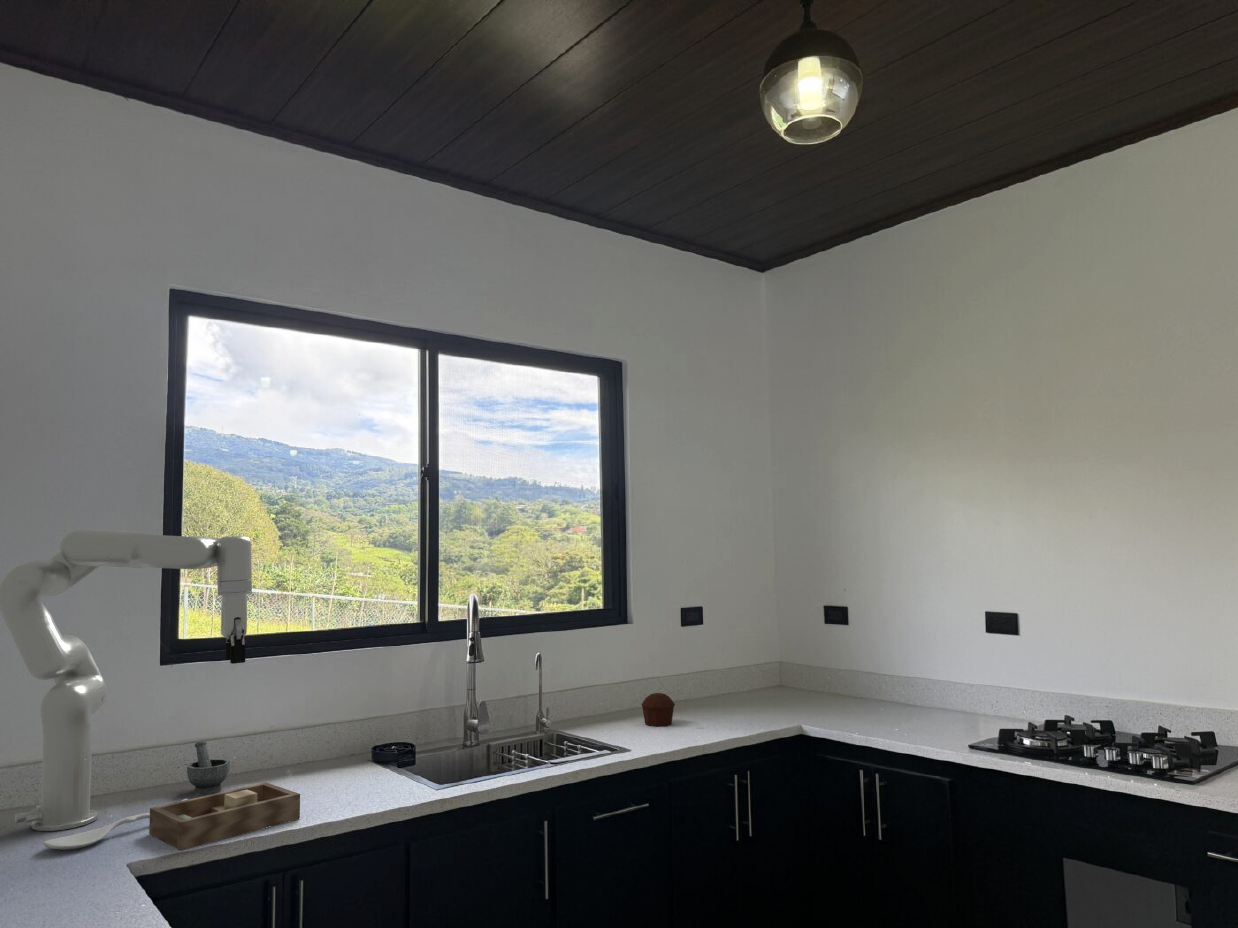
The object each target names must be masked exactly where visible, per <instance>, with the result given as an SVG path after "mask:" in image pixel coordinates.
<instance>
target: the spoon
mask: <svg viewBox="0 0 1238 928" xmlns="http://www.w3.org/2000/svg"><path fill="white" fill-rule="evenodd" d="M184 800H189V799H188V798H184V799H181V801H184ZM144 819H150V812H146V813H145V812H144V813H139V814H136V815H135V814H134V815H132V816H131V815H130V816H125V817H124V818H121V819H119V820H116V821H115V822H112V823H110V824H107V825H105V826H101V827H99V828H95V829H91V830H87V831H84V832H83V831H82V832H78V833H75V834H72V835H67V836H62V837H61V836H60V837H56V838H51V839H46V840H45V841H43V846H44V847H45V848H47V849H52V850H64V851H65V850H66V851H68V850H69V851H71V850H79V849H83V848H86V847H88V846H91V845H93V844H95V843H97V842H99V841H100V840H102V839H103V838H105V837H107V835H108V834H110V832H111V831H113V829H115V828H117V827H118V826H122V825H124V824H128V823H134V822H136V821H140V820H144Z"/></svg>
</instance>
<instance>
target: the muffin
mask: <svg viewBox="0 0 1238 928" xmlns="http://www.w3.org/2000/svg"><path fill="white" fill-rule="evenodd" d="M640 705H641V707H642V714H643V719H644V724H645V726H647V727H652V728H653V727H654V728H660V727H661V728H662V727H670V726H671V725H672V724H673V718H674V717H673V716H674V707H675V706H676V704H675V703H674V701H673V700H672V698H671V697H670V696H669V695H668V694H666V693H662V692H654V693H651V694H649V695H647V696H646V697H645V698H644V700H643V701H642V703H641V704H640Z"/></svg>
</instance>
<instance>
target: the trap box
mask: <svg viewBox="0 0 1238 928" xmlns="http://www.w3.org/2000/svg"><path fill="white" fill-rule="evenodd" d="M242 790H250V791H253V792H255V793H257V802H256V803H252V804H248V805H244V806H239V807H235V808H231V809H227V810H224V800H225V794H229V793H233V792H238V791H242ZM183 800H184V799H183ZM149 813H150V818H149V826H148V827H149V831H148V834H150V836H151V835H152V836H151V837H153V836H154V837H153V838H155V839H157V840H159V841H160V842H163V843H164V844H166V845H169V846H171V847H172V848H173V849H174V848H175V849H176V850H178V851H183V850H188V849H191V848H195V847H199V846H203V845H206V844H210V843H213V842H217V841H221V840H225V839H229V838H233V837H236V836H242V835H245V834H248V833H252V832H256V831H260V830H264V829H267V828H266V827H268V828H270V827H269V826H272V827H275V825H276V826H278V825H283V824H286V823H285V822H287V823H290V822H289V821H291V822H294V821H293V820H295V821H297V820H296V819H299V818H300V819H301V793H298V792H295V791H294V790H293V791H292V790H289V789H286V788H284V787H280V786H278V785H275V784H272V783H269V782H261V783H258V784H252V785H248V786H243V787H239V788H235V789H230V790H229V789H228V790H225V791H222V792H221V791H220V792H217V793H214V794H208V795H201V796H199V797H194V798H190V799H188V800H184V801H182V800H180V801H176V802H171V803H167V804H162V805H159V806H153V807H150V808H149ZM300 819H299V820H300ZM263 828H264V829H263Z"/></svg>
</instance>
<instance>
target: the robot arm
mask: <svg viewBox="0 0 1238 928" xmlns="http://www.w3.org/2000/svg"><path fill="white" fill-rule="evenodd" d="M252 563H253V562H252V540H251V538H250V537H248V536H244V535H242V536H240V535H238V536H237V535H236V536H234V535H233V536H223V537H220V538H219V537H208V536H207V537H205V536H183V535H181V536H180V535H166V534H165V535H163V534H162V535H161V534H150V533H147V532H144V531H135V530H133V531H131V530H115V529H114V530H111V529H97V528H95V529H94V528H93V529H91V528H79V529H77V528H76V529H75V530H71V531H69V532H67V533H66V534H65V535H64V536H63V537H62V539H61V541H60V544H59V552H58V553H57V554H55V555H53V556H52V557H51V558H49V559H47V560H43V559H41V560H39V559H38V560H29V561H26V562H23V563H20V564H18V565H16V566H14V567H13V568H12V569H10V571H8V572H7V573H6V575H4V577H3V578H2V580H1V582H0V615H1V616H2V619H3V621H4V623H5V625H6V627H7V628H8V631H9V633H10V635H11V636H12V639H13V642H14V644H15V646H16V648H17V650H18V652H19V654H20V656H21V658H22V660H23V663H24V665H25V667H26V669H27V671H28V672H29V674H30V675H31V676H32V677H34V678H35V679H37V680H41V681H49V680H53V682H54V684H55V685H53V686H52V687H51V688H49V689H48V691H47V692H46V693H45V695H44V696H43V698H42V700H41V703H40V721H41V728H42V754H41V755H42V759H41V760H42V761H41V762H42V763H41V764H42V765H41V787H40V792H41V793H40V804H36V806H35V807H36V808H33V809H31V811H27V812H25V811H24V812H20V813H16V814H14V823H15V824H20V823H25V824H27V823H31V829H33V830H34V831H38V832H55V831H64V830H69V829H74V828H79V827H82V826H85V825H88V824H91V823H93V822H94V821H96V820H97V818H98V811H96V810H94V809H91V788H92V787H91V785H92V758H93V757H92V756H93V755H92V753H93V731H92V724H91V719H90V715H93V714H94V713H96V712H98V711H99V710H100V709H101V708H102V707H103V706H104V705H105V703H106V700H107V698H108V688H107V685H106V681H105V679H104V677H103V676H102V673H101V671H100V669H99V667H98V665H97V663H96V661H95V659H94V657H93V655H92V653H91V651H90V650H89V647H88V646H87V645H86V643H85V642H84V641H83V640H82V639H81V638H79V637H77V636H75V635H71V634H68V633H67V634H66V633H65V634H62V633H61V631H60V630H59V628H58V626H57V624H56V622H55V620H54V619H55V618H54V617H53V616H52V614H51V613H50V611H49V610H48V609H47V607H46V606H45V604H44V603H43V599H42V598H45V597H46V598H47V597H54V596H58V595H60V594H63V593H65V592H66V591H69V590H70V589H71V588H73V587H74V586H75V585H77V584H78V583H79V582H80V581H82V580H84V579H85V578H86V577H88V576H89V575H91V574H92V573H93V572H95V571H96V570H97V569H98V568H100V567H108V568H109V567H110V568H111V567H112V568H129V569H143V568H153V569H158V568H159V569H174V570H175V569H179V570H180V569H181V570H201V569H202V570H203V569H208V568H214V567H217V568H216V570H217V576H216V577H217V579H216V580H217V582H216V583H217V585H216V586H217V596H221V605H220V609H221V611H220V613H221V615H220V616H221V617H220V623H221V624H220V636H222V637H224V638H226V639H225V641H226V642H225V660H228V661H229V660H230V661H229V663H230V664H233V665H234V664H242V663H243V664H244V663H245V662H246V644H245V643H246V642H245V641H246V640H245V636H246V635H247V632H248V631H247V630H248V629H247V628H248V597H247V595H250V594H253V593H252V592H253V582H252V581H253V580H252V579H253V578H252V577H253V575H252V574H253V573H252V571H253V570H252V569H253V568H252Z"/></svg>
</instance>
